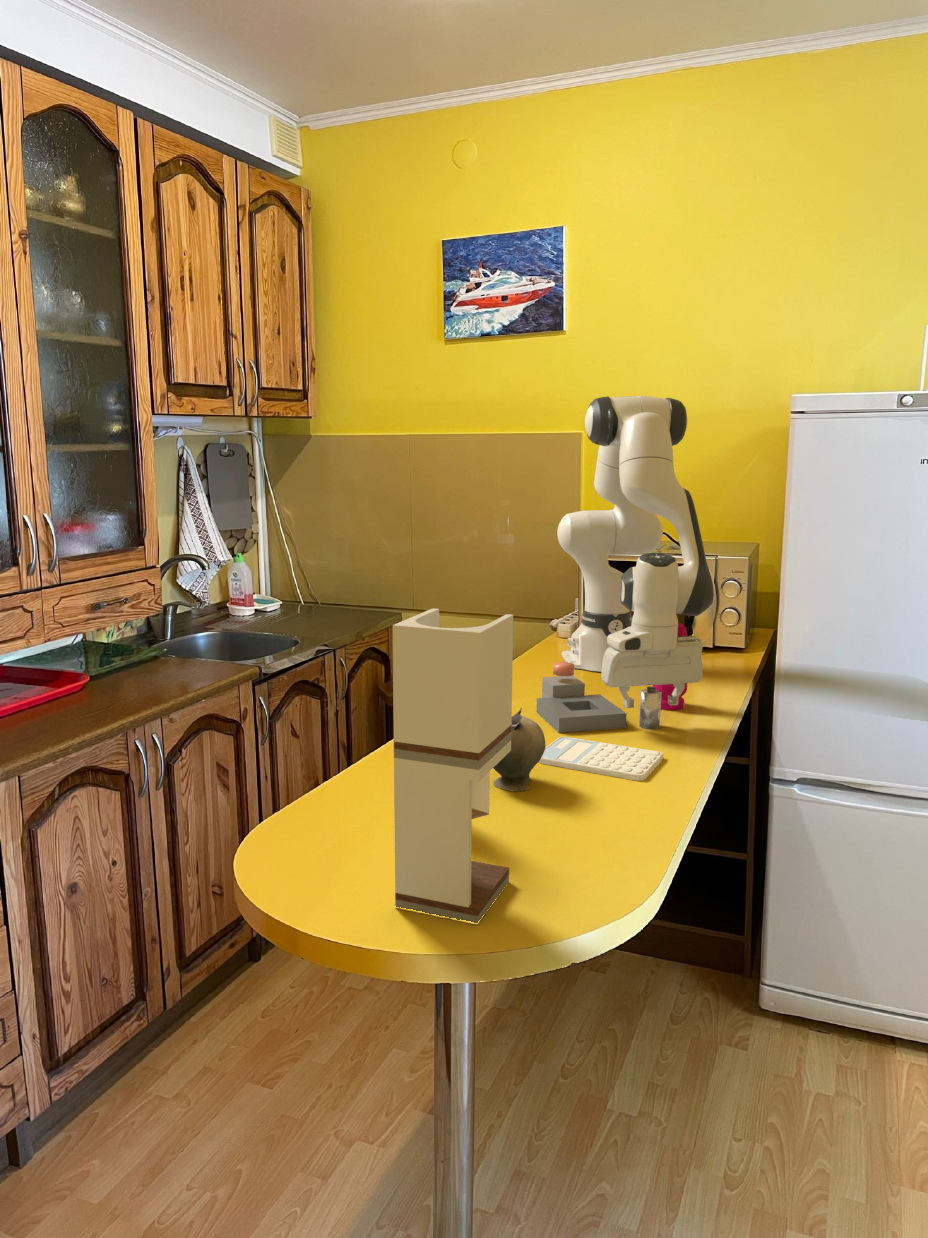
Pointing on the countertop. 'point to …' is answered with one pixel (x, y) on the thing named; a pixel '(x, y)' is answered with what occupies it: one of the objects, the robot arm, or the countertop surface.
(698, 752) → the countertop surface
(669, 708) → the pepper mill
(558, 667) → the plunger
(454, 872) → the beige stacked box tower
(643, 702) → the cell
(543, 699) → the grey stepped block frame
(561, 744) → the calculator
